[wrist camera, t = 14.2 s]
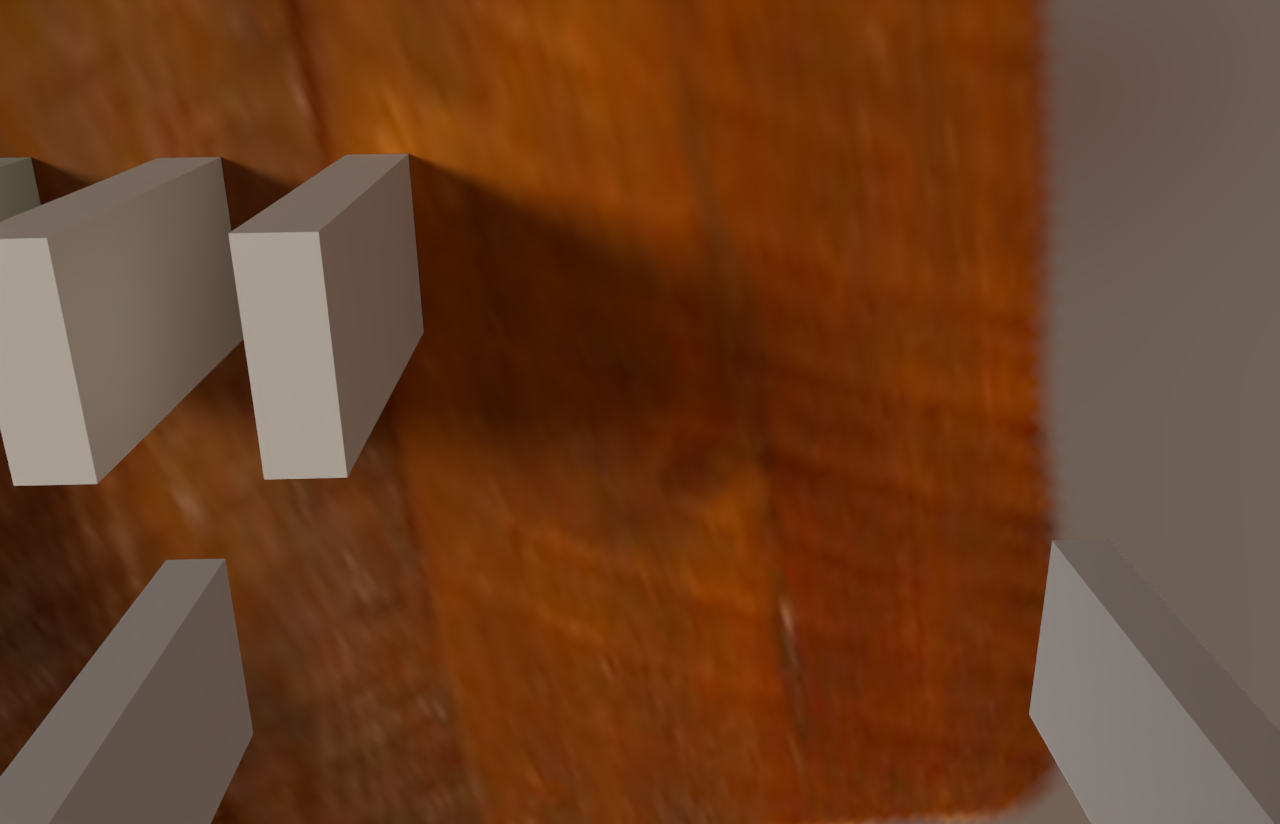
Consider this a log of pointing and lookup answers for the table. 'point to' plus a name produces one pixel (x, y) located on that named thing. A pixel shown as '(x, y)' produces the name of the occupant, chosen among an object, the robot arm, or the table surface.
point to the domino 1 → (17, 187)
